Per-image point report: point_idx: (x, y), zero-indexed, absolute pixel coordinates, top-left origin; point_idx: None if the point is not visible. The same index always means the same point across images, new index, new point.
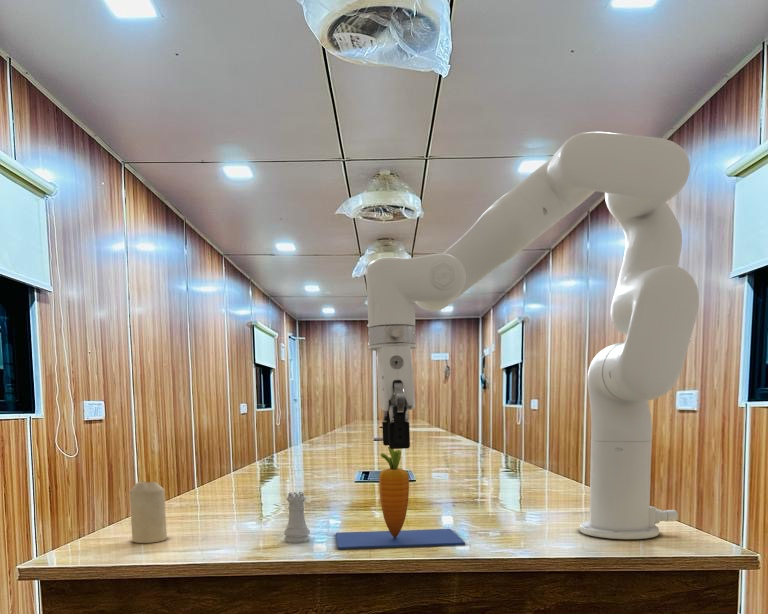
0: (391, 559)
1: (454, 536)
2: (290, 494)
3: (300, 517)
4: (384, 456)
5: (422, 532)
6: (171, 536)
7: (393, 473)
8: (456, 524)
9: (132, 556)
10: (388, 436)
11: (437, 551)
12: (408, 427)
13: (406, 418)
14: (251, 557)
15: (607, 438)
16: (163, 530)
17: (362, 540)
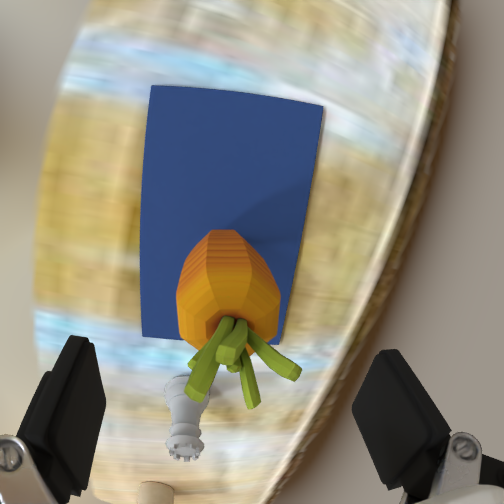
0: (377, 272)
1: (252, 102)
2: (195, 458)
3: (197, 416)
4: (258, 393)
5: (179, 162)
6: (135, 478)
7: (275, 330)
8: (76, 56)
9: (236, 490)
10: (93, 419)
11: (355, 180)
12: (437, 414)
13: (474, 448)
14: (283, 426)
15: None
16: (160, 492)
17: None
